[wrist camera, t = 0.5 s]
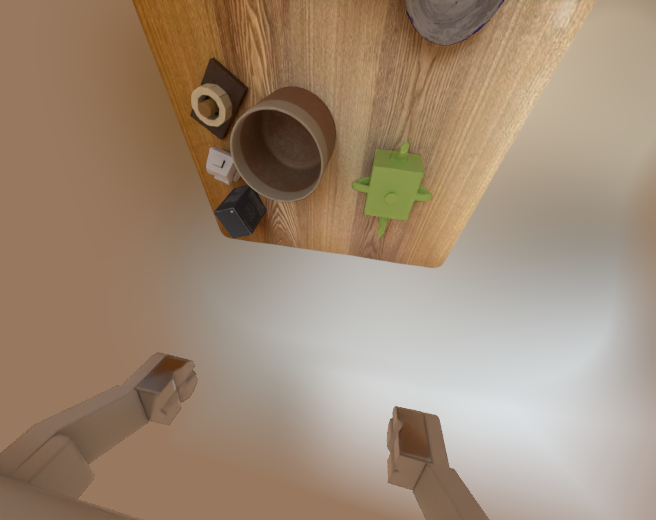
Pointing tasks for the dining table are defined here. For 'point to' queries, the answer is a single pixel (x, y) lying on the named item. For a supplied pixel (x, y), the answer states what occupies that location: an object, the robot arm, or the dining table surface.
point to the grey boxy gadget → (221, 165)
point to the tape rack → (232, 87)
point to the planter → (284, 144)
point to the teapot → (393, 185)
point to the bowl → (450, 18)
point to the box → (241, 211)
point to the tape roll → (221, 100)
